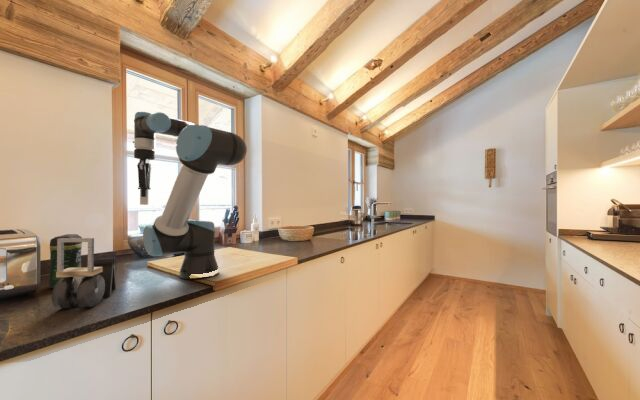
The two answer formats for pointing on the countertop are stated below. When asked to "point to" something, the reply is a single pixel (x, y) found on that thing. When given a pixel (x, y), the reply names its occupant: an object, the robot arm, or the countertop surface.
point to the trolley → (77, 281)
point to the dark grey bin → (107, 274)
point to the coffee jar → (70, 256)
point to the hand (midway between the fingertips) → (144, 204)
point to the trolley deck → (79, 272)
